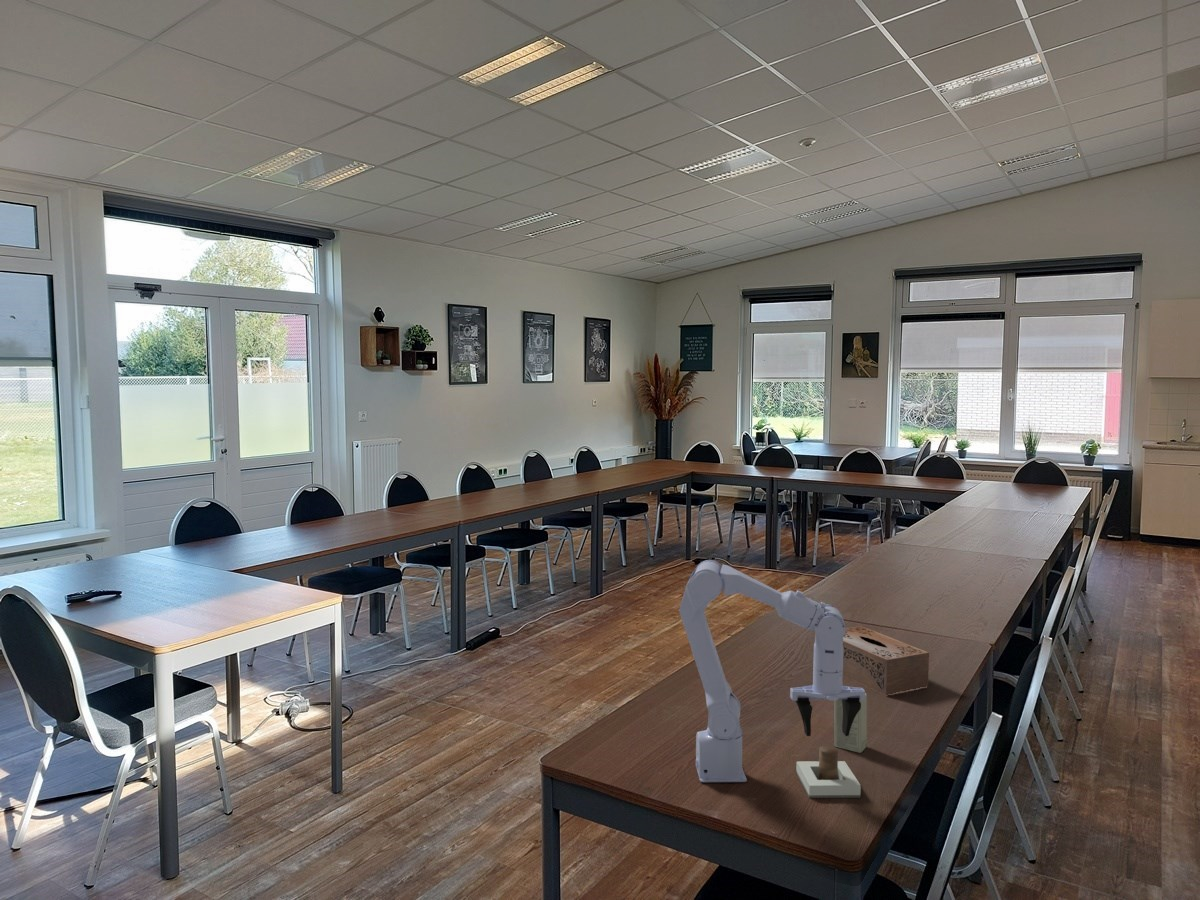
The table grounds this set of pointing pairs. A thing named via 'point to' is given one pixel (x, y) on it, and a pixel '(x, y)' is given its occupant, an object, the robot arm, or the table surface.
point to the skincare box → (857, 731)
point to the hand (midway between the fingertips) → (826, 733)
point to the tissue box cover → (883, 661)
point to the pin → (828, 763)
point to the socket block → (828, 781)
